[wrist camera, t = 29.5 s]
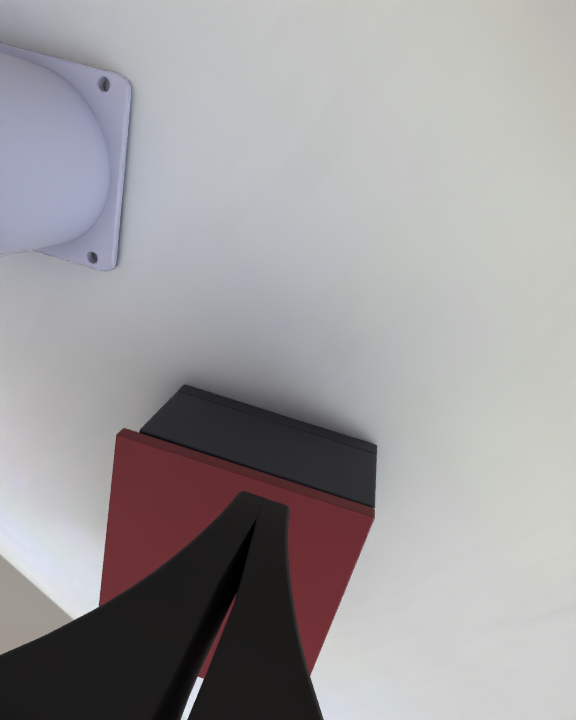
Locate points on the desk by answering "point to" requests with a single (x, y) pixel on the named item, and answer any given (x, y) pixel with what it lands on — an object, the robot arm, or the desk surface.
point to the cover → (204, 504)
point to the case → (268, 443)
